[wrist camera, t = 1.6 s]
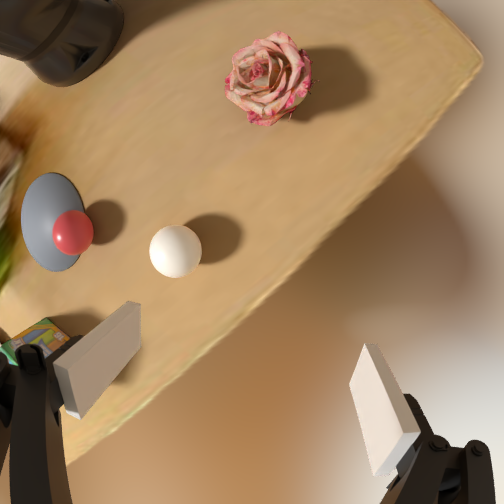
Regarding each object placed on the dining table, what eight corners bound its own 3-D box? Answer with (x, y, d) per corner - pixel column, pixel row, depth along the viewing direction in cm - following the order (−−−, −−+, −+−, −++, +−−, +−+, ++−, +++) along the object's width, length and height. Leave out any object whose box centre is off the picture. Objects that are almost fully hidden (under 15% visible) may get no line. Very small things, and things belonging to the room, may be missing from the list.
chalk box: (78, 382, 40) (31, 433, 26) (40, 351, 40) (-11, 393, 26) (86, 347, 38) (28, 401, 24) (45, 314, 38) (-17, 354, 23)
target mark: (24, 172, 33) (23, 172, 33) (88, 174, 32) (88, 174, 32) (23, 261, 36) (22, 262, 36) (85, 280, 35) (85, 280, 35)
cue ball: (163, 218, 32) (142, 224, 27) (210, 225, 32) (195, 233, 27) (160, 264, 34) (139, 279, 28) (204, 273, 33) (190, 289, 28)
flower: (321, 43, 25) (274, 10, 19) (350, 113, 25) (306, 87, 19) (255, 82, 31) (204, 64, 26) (274, 148, 31) (220, 138, 25)
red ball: (71, 206, 33) (43, 210, 28) (102, 210, 33) (76, 215, 28) (70, 246, 34) (44, 255, 29) (101, 253, 34) (76, 264, 29)
